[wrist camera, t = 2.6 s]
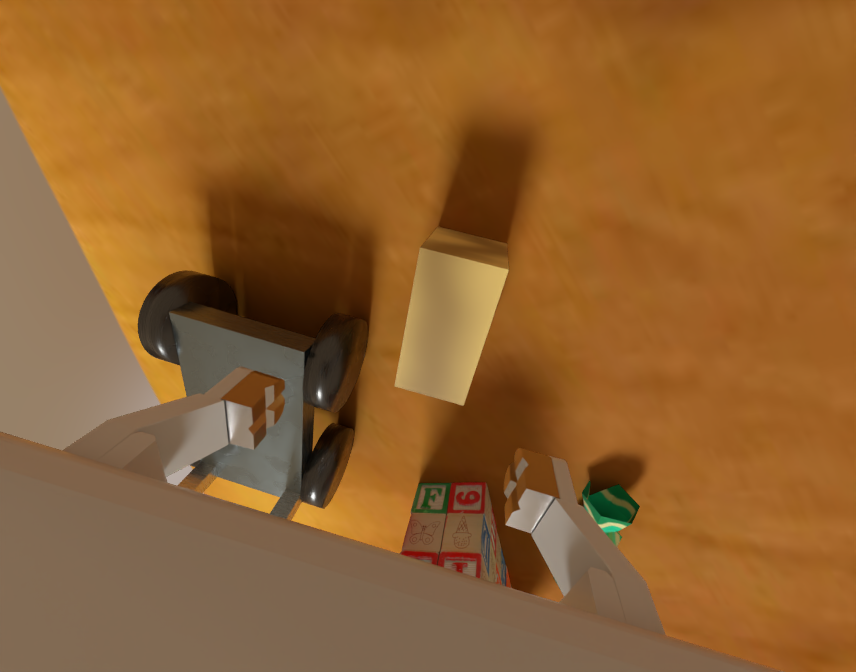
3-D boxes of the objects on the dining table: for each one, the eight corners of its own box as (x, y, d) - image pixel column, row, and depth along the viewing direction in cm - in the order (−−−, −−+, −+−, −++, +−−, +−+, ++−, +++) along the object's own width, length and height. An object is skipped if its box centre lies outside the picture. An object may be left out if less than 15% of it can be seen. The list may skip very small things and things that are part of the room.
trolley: (350, 461, 30) (136, 897, 12) (232, 424, 31) (-129, 786, 13) (372, 304, 22) (-147, 914, 4) (211, 259, 23) (-796, 625, 5)
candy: (603, 581, 30) (585, 621, 28) (567, 553, 32) (547, 587, 30) (644, 495, 25) (626, 535, 22) (597, 468, 27) (575, 501, 24)
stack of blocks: (519, 611, 37) (526, 794, 27) (464, 606, 39) (451, 775, 28) (486, 479, 28) (477, 676, 18) (416, 480, 30) (370, 659, 19)
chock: (506, 243, 19) (508, 269, 14) (470, 357, 23) (463, 405, 18) (438, 226, 19) (419, 247, 15) (414, 342, 23) (394, 386, 19)
